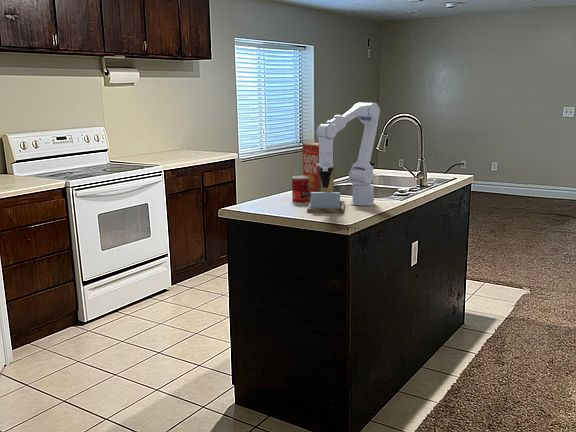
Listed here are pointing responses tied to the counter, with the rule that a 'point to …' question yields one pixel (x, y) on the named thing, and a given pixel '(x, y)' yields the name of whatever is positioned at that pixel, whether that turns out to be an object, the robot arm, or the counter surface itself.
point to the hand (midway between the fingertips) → (326, 186)
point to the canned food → (300, 188)
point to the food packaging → (315, 168)
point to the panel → (325, 200)
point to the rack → (326, 209)
